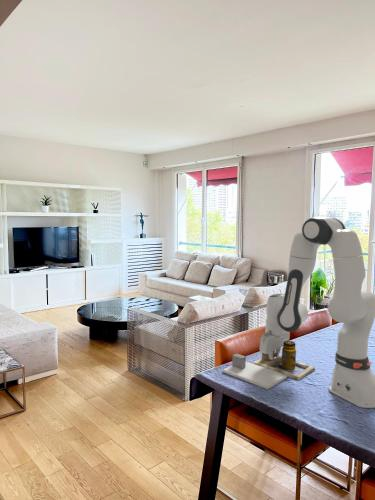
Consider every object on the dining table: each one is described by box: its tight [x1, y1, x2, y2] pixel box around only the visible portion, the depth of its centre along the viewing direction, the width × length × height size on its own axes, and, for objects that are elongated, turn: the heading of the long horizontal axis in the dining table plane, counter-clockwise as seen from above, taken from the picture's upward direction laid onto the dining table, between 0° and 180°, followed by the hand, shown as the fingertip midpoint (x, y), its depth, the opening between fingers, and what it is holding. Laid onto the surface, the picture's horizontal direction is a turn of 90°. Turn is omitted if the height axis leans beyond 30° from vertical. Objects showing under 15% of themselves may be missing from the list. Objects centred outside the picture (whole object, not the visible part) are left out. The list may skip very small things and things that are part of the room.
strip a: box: [252, 350, 316, 380], centre depth 173 cm, size 22×15×6 cm, turn 46°
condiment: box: [274, 340, 299, 372], centre depth 172 cm, size 7×8×12 cm
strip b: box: [222, 353, 288, 390], centre depth 163 cm, size 22×15×6 cm, turn 46°
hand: (274, 358), depth 176 cm, fingers closed on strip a, 3 cm apart
